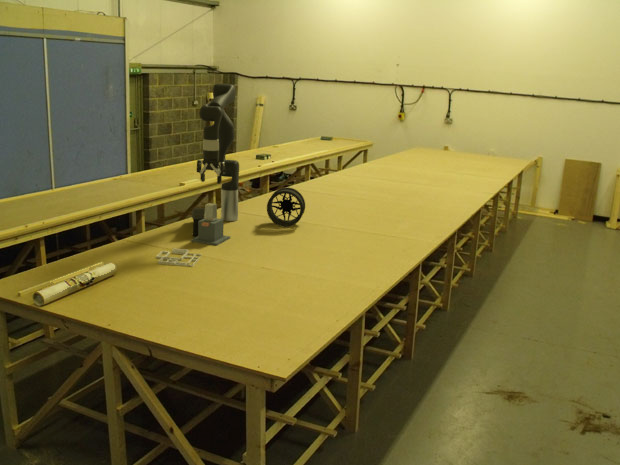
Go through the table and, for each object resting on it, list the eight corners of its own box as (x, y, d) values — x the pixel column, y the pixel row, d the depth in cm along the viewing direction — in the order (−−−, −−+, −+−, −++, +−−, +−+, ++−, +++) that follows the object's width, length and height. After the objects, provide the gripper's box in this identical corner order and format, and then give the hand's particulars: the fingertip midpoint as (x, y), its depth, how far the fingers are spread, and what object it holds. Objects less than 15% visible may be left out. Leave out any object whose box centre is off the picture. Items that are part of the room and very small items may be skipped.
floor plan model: (151, 250, 284) (151, 246, 283) (204, 254, 281) (204, 250, 281) (136, 263, 266) (136, 259, 265) (192, 267, 263) (192, 263, 263)
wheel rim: (304, 223, 340) (306, 188, 334) (302, 228, 331) (304, 191, 325) (268, 221, 341) (269, 186, 336) (266, 225, 333) (267, 189, 327)
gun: (192, 235, 304) (192, 205, 304) (191, 237, 333) (191, 209, 333) (205, 235, 305) (205, 205, 306) (204, 237, 334) (203, 209, 334)
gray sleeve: (205, 234, 311) (205, 215, 308) (230, 238, 306) (230, 218, 304) (191, 241, 298) (191, 221, 295) (216, 245, 294) (216, 225, 291)
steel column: (209, 234, 304) (209, 203, 300) (216, 235, 303) (217, 204, 299) (204, 236, 300) (204, 204, 296) (212, 237, 299) (212, 205, 295)
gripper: (228, 149, 291) (227, 182, 296) (201, 146, 296) (201, 179, 300) (220, 151, 284) (220, 185, 289) (193, 148, 289) (193, 182, 293)
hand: (210, 182), depth 294 cm, fingers open, 8 cm apart
